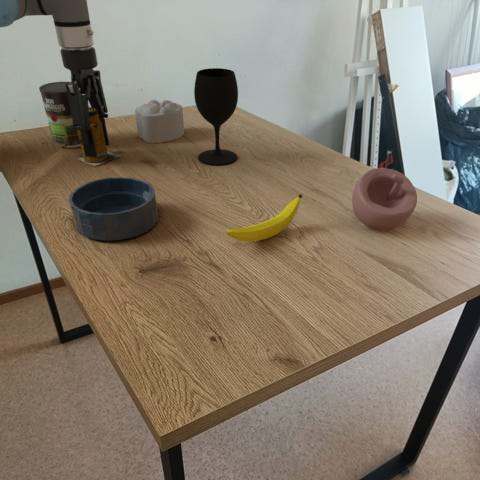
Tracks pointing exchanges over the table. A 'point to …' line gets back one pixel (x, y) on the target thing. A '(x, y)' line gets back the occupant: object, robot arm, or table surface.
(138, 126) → the lumpy-topped squat cylinder
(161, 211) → the table surface
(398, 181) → the mortar and pestle
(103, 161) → the condiment
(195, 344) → the table surface
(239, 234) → the banana
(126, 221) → the bowl
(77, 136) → the coffee can
